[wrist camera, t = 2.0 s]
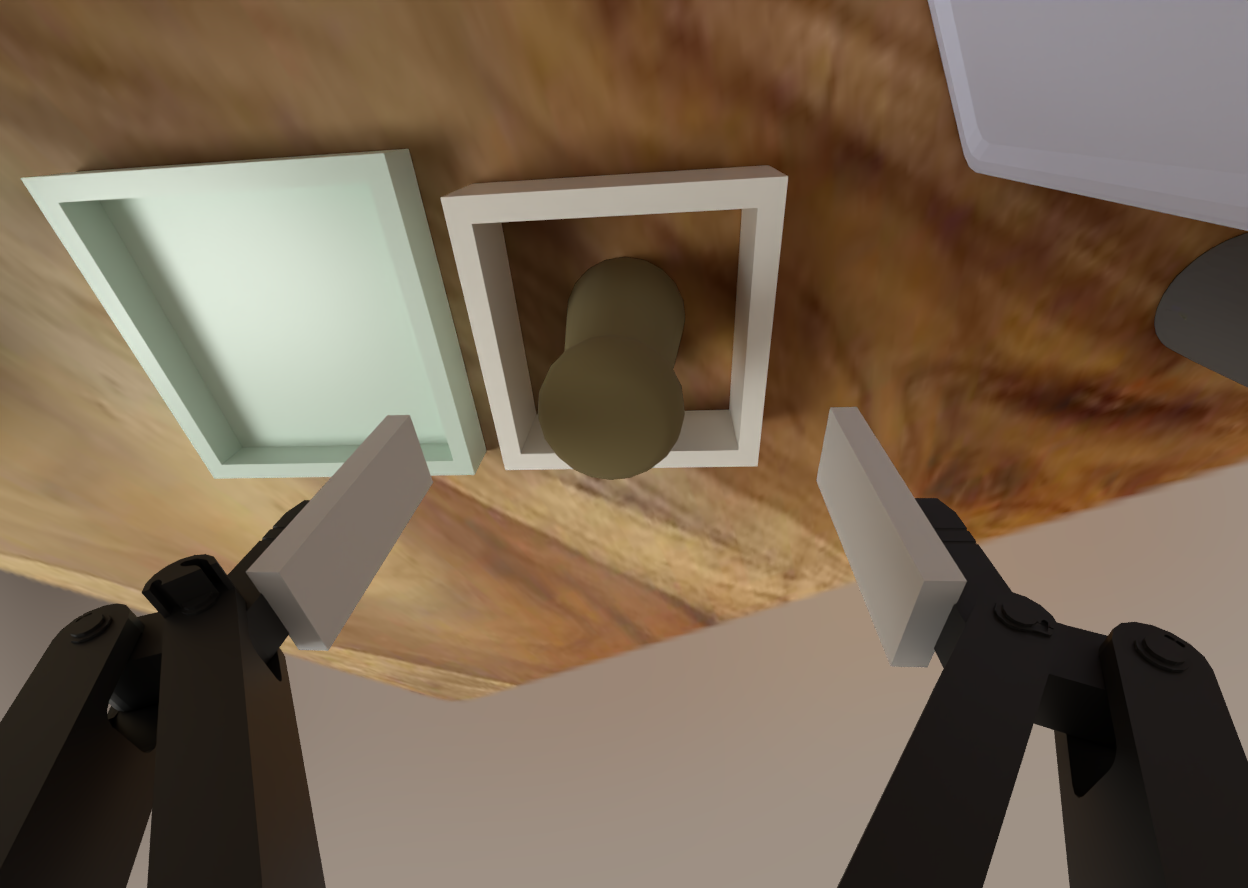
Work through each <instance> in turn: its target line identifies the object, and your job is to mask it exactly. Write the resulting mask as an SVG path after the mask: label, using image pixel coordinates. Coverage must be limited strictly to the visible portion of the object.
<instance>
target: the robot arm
mask: <svg viewBox="0 0 1248 888" xmlns="http://www.w3.org/2000/svg"><path fill="white" fill-rule="evenodd" d="M816 481H817V483H818V486H819V488H820V491H821V493H822V496H823V498H824V501H825V503H826V506H827V508H828V511H829V513H830V516H831V518H832V521H833V523H834V526H835V528H836V531H837V533H838V536H839V538H840V541H841V543H842V546H843V548H844V551H845V553H846V556H847V558H848V561H849V563H850V566H851V568H852V571H853V573H854V576H855V578H856V581H857V583H858V586H859V588H860V591H861V593H862V596H863V598H864V601H865V603H866V606H867V608H868V611H869V613H870V616H871V618H872V621H873V623H874V626H875V628H876V631H877V633H878V636H879V638H880V641H881V643H882V646H883V648H884V651H885V653H886V656H887V658H888V661H889V663H890V666H899V667H928V665H929V662H930V660H931V658H932V656H933V654H934V652H936V653H937V655H938V657H939V660H940V662H941V664H942V666H943V668H944V669H943V671H942V673H941V676H940V677H939V679H938V681H937V683H936V685H935V688H934V689H933V691H932V694H931V695H930V698H929V700H928V702H927V704H926V706H925V708H924V710H923V712H922V714H921V716H920V718H919V720H918V722H917V724H916V727H915V728H914V731H913V733H912V735H911V737H910V739H909V741H908V743H907V745H906V747H905V749H904V751H903V753H902V755H901V757H900V759H899V761H898V764H897V765H896V768H895V770H894V772H893V774H892V776H891V778H890V780H889V782H888V784H887V786H886V788H885V790H884V792H883V794H882V796H881V798H880V800H879V802H878V804H877V806H876V809H875V811H874V813H873V815H872V817H871V819H870V821H869V823H868V825H867V827H866V829H865V831H864V834H863V835H862V837H861V839H860V841H859V844H858V845H857V848H856V850H855V852H854V854H853V856H852V858H851V860H850V862H849V864H848V866H847V868H846V870H845V872H844V874H843V876H842V878H841V881H840V882H839V884H838V887H837V888H982V887H983V884H984V881H985V878H986V875H987V871H988V868H989V865H990V862H991V859H992V855H993V852H994V849H995V846H996V842H997V839H998V836H999V833H1000V829H1001V826H1002V823H1003V820H1004V817H1005V814H1006V810H1007V807H1008V804H1009V800H1010V797H1011V794H1012V791H1013V788H1014V784H1015V781H1016V778H1017V775H1018V772H1019V768H1020V765H1021V762H1022V758H1023V756H1024V752H1025V749H1026V746H1027V743H1028V739H1029V736H1030V733H1031V730H1032V726H1033V723H1034V724H1037V725H1040V726H1043V727H1047V728H1050V729H1053V730H1054V733H1055V743H1056V753H1057V763H1058V774H1059V783H1060V794H1061V804H1062V813H1063V824H1064V834H1065V843H1066V852H1067V864H1068V874H1069V883H1070V888H1248V761H1247V758H1246V756H1245V753H1244V750H1243V748H1242V745H1241V742H1240V740H1239V737H1238V735H1237V732H1236V730H1235V727H1234V724H1233V721H1232V719H1231V716H1230V714H1229V711H1228V708H1227V706H1226V703H1225V700H1224V698H1223V695H1222V692H1221V690H1220V687H1219V685H1218V682H1217V679H1216V677H1215V674H1214V671H1213V669H1212V668H1211V666H1210V665H1209V663H1208V662H1207V660H1206V659H1205V657H1204V656H1203V655H1202V654H1201V653H1199V652H1198V651H1197V650H1196V649H1195V648H1194V647H1193V646H1192V645H1190V644H1189V643H1187V642H1185V641H1184V640H1182V639H1181V638H1179V637H1177V636H1176V635H1174V634H1172V633H1170V632H1168V631H1165V630H1162V629H1160V628H1158V627H1155V626H1153V625H1148V624H1143V623H1138V622H1128V623H1121V624H1119V625H1118V626H1117V627H1115V628H1114V629H1113V630H1112V631H1111V632H1110V634H1109V635H1108V636H1106V635H1102V634H1098V633H1094V632H1090V631H1086V630H1083V629H1079V628H1075V627H1071V626H1067V625H1063V624H1060V623H1057V622H1056V621H1055V619H1054V618H1053V616H1052V615H1051V614H1050V613H1049V612H1047V611H1046V610H1045V609H1044V608H1043V607H1042V606H1041V605H1039V604H1037V603H1036V602H1034V601H1032V600H1030V599H1029V598H1027V597H1025V596H1021V595H1019V594H1016V593H1013V592H1012V591H1011V590H1010V588H1009V587H1008V586H1007V584H1006V583H1005V581H1004V580H1003V579H1002V577H1001V576H1000V574H999V573H998V571H997V570H996V569H995V567H994V566H993V564H992V563H991V562H990V560H989V559H988V557H987V556H986V555H985V553H984V552H983V550H982V549H981V548H980V546H979V545H978V544H976V540H975V539H974V538H973V536H972V535H971V533H970V532H969V531H967V528H966V526H965V525H964V524H963V522H962V521H961V519H960V518H959V517H958V515H957V514H956V512H954V511H953V510H952V509H950V508H949V507H948V506H946V505H945V504H944V503H942V502H941V501H940V500H938V499H937V498H914V497H913V495H912V493H911V492H910V490H909V489H908V487H907V486H906V484H905V482H904V481H903V479H902V478H901V476H900V475H899V473H898V471H897V470H896V468H895V467H894V465H893V463H892V462H891V460H890V459H889V457H888V456H887V454H886V452H885V451H884V449H883V448H882V446H881V444H880V443H879V441H878V440H877V438H876V437H875V435H874V433H873V432H872V430H871V429H870V427H869V425H868V424H867V422H866V421H865V419H864V418H863V416H862V414H861V413H860V411H859V410H858V408H857V407H830V411H829V417H828V422H827V427H826V432H825V438H824V443H823V448H822V454H821V459H820V464H819V469H818V475H817V480H816ZM432 483H433V481H432V478H431V475H430V472H429V469H428V466H427V463H426V460H425V458H424V455H423V452H422V449H421V446H420V443H419V440H418V437H417V434H416V431H415V428H414V425H413V422H412V419H411V417H410V415H387V416H386V417H385V418H384V419H383V421H382V422H381V423H380V424H379V425H378V426H377V427H376V428H375V429H374V431H373V432H372V433H371V434H370V435H369V436H368V437H367V438H366V439H365V440H364V442H363V443H362V444H361V445H360V446H359V447H358V448H357V449H356V450H355V452H354V453H353V454H352V455H351V456H350V457H349V458H348V459H347V460H346V461H345V463H344V464H343V465H342V466H341V467H340V468H339V469H338V470H337V471H336V473H335V474H334V475H333V476H332V477H331V478H330V479H329V480H328V481H327V482H326V484H325V485H324V486H323V487H322V488H321V489H320V490H319V491H318V492H317V494H316V495H315V496H314V497H313V498H312V499H311V500H304V501H303V502H301V503H300V504H298V505H297V506H295V507H294V508H292V509H291V510H289V511H288V512H286V513H285V514H284V515H283V516H282V518H281V519H280V520H279V521H278V522H277V523H276V524H275V525H274V526H273V529H270V530H269V531H268V532H267V534H266V535H265V536H264V537H263V538H262V541H259V542H258V543H257V544H256V545H255V546H254V547H253V548H252V550H251V551H250V552H249V553H248V554H247V555H246V556H245V557H244V558H243V559H242V560H241V561H240V562H239V563H238V564H237V566H236V567H235V568H234V569H233V570H232V571H231V572H230V573H229V574H228V575H227V574H226V573H225V572H224V570H223V569H222V567H221V566H220V565H219V563H218V562H217V560H216V559H215V558H214V557H213V556H210V555H206V554H204V555H194V556H190V557H187V558H184V559H180V560H178V561H176V562H174V563H172V564H170V565H168V566H166V567H165V568H163V569H162V570H160V571H159V572H158V573H156V574H155V575H154V576H153V577H152V578H151V579H150V580H149V581H148V582H147V583H146V584H145V586H144V589H143V591H142V594H143V595H144V596H145V597H146V598H147V599H148V600H149V602H150V603H151V604H152V605H153V606H154V607H155V608H156V609H157V611H158V612H157V613H152V614H148V615H144V616H140V617H136V615H135V614H134V613H133V612H132V611H131V610H130V609H129V608H128V607H127V606H126V605H123V604H111V605H106V606H102V607H100V608H97V609H94V610H92V611H89V612H87V613H85V614H83V615H82V616H79V617H78V618H76V619H75V620H73V621H72V622H71V623H70V624H68V625H67V626H66V627H65V628H63V629H62V630H61V631H60V632H59V633H58V634H57V636H56V637H55V638H54V639H53V640H52V642H51V644H50V645H49V647H48V648H47V650H46V651H45V653H44V655H43V656H42V658H41V659H40V661H39V662H38V664H37V666H36V667H35V669H34V670H33V672H32V674H31V675H30V677H29V678H28V680H27V681H26V683H25V684H24V686H23V688H22V689H21V691H20V692H19V694H18V696H17V697H16V699H15V700H14V702H13V703H12V705H11V707H10V708H9V710H8V711H7V713H6V714H5V716H4V718H3V719H2V721H1V722H0V888H126V885H127V883H128V880H129V876H130V873H131V870H132V867H133V864H134V861H135V858H136V855H137V852H138V849H139V846H140V843H141V840H142V837H143V834H144V831H145V828H146V825H147V822H148V819H149V816H150V813H151V810H152V820H151V836H150V852H149V869H148V884H147V888H326V887H325V881H324V876H323V870H322V864H321V858H320V853H319V847H318V841H317V836H316V830H315V824H314V819H313V813H312V807H311V801H310V796H309V790H308V785H307V779H306V773H305V768H304V762H303V756H302V750H301V745H300V739H299V734H298V728H297V723H296V716H295V711H294V706H293V699H292V694H291V688H290V683H289V677H288V671H287V665H286V660H285V656H284V654H283V652H282V651H281V649H280V648H279V647H280V646H281V644H282V643H283V642H284V640H285V639H286V638H287V636H288V635H289V636H290V637H291V639H292V640H293V642H294V643H295V645H296V646H297V648H298V649H299V650H326V651H328V650H329V649H330V647H331V646H332V644H333V642H334V641H335V639H336V637H337V636H338V634H339V633H340V631H341V629H342V628H343V626H344V625H345V623H346V621H347V620H348V618H349V617H350V615H351V613H352V612H353V610H354V609H355V607H356V605H357V604H358V602H359V600H360V599H361V597H362V596H363V594H364V592H365V591H366V589H367V588H368V586H369V584H370V583H371V581H372V580H373V578H374V576H375V575H376V573H377V572H378V570H379V568H380V567H381V565H382V563H383V562H384V560H385V559H386V557H387V555H388V554H389V552H390V551H391V549H392V547H393V546H394V544H395V543H396V541H397V539H398V538H399V536H400V535H401V533H402V531H403V530H404V528H405V527H406V525H407V523H408V522H409V520H410V518H411V517H412V515H413V514H414V512H415V510H416V509H417V507H418V506H419V504H420V502H421V501H422V499H423V498H424V496H425V494H426V493H427V491H428V490H429V488H430V486H431V485H432ZM108 704H110V705H111V708H110V710H109V712H108V714H107V708H108Z"/></svg>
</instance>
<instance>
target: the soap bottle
mask: <svg viewBox="0 0 1248 888" xmlns="http://www.w3.org/2000/svg"><path fill="white" fill-rule="evenodd" d="M928 4H929V8H930V12H931V17H932V21H933V25H934V29H935V34H936V38H937V42H938V46H939V51H940V55H941V59H942V64H943V68H944V72H945V76H946V81H947V85H948V89H949V93H950V98H951V102H952V106H953V111H954V115H955V119H956V123H957V128H958V132H959V136H960V140H961V145H962V149H963V153H964V157H965V159H966V161H967V163H968V166H969V167H970V168H971V169H972V170H973V171H975V172H976V173H981V174H986V175H990V176H995V177H1000V178H1004V179H1009V180H1014V181H1018V182H1023V183H1028V184H1032V185H1037V186H1042V187H1046V188H1051V189H1056V190H1060V191H1065V192H1069V193H1074V194H1079V195H1083V196H1088V197H1093V198H1097V199H1102V200H1107V201H1111V202H1116V203H1121V204H1125V205H1130V206H1135V207H1139V208H1144V209H1149V210H1153V211H1158V212H1163V213H1167V214H1172V215H1176V216H1181V217H1186V218H1190V219H1195V220H1200V221H1204V222H1209V223H1214V224H1218V225H1223V226H1228V227H1232V228H1237V229H1242V230H1246V231H1248V0H928Z"/></svg>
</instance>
